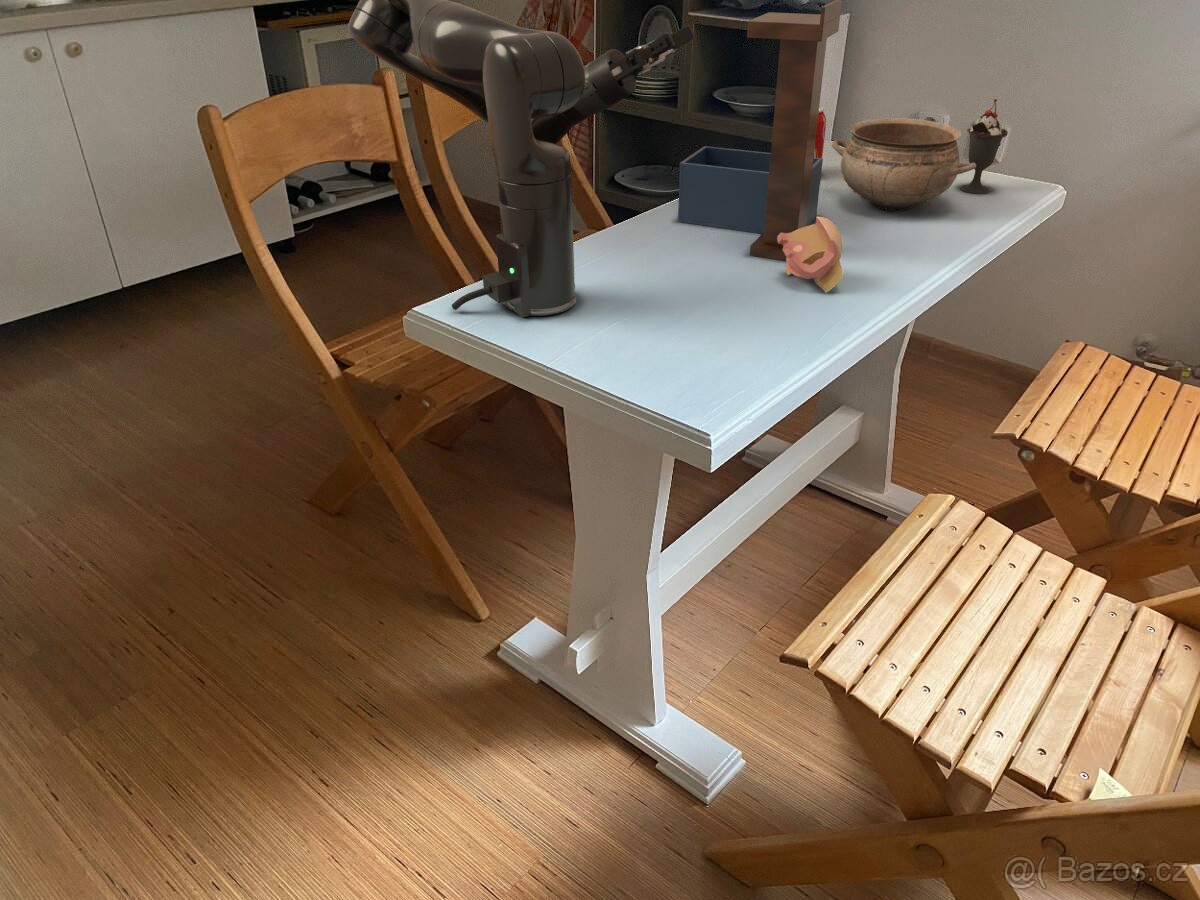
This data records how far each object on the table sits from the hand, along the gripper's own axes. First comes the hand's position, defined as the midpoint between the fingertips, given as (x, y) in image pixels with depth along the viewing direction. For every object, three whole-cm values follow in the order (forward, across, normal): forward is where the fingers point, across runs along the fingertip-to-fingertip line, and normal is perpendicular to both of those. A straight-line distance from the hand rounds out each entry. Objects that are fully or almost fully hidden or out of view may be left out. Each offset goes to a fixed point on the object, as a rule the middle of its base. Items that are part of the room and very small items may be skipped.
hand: (681, 34), depth 137 cm
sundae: (+25, -31, -46) cm, 61 cm away
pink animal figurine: (+11, +22, -39) cm, 46 cm away
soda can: (-2, -28, -31) cm, 42 cm away
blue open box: (-3, 0, -30) cm, 30 cm away
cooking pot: (+15, -17, -40) cm, 46 cm away
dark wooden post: (+4, +12, -34) cm, 36 cm away
